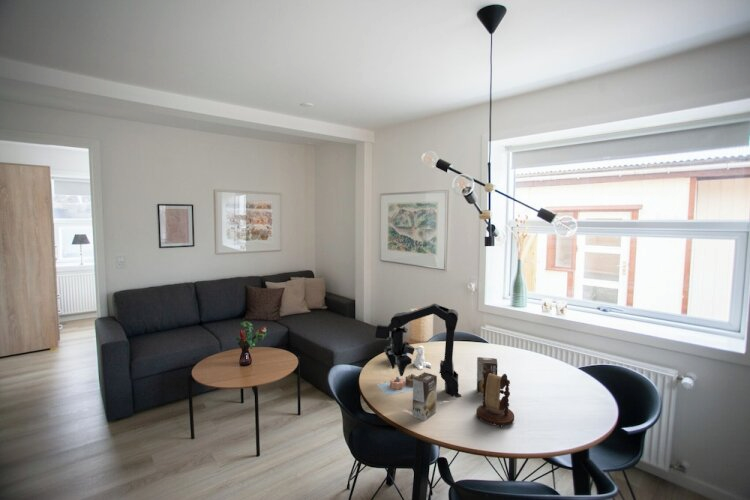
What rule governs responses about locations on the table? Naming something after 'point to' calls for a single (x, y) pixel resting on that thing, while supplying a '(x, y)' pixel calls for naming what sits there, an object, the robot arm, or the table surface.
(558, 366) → the table surface
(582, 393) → the table surface
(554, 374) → the table surface
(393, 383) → the salmon gear
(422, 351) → the seated beast figurine
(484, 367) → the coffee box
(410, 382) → the walnut gear
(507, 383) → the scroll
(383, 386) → the gear board
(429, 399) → the coffee box
